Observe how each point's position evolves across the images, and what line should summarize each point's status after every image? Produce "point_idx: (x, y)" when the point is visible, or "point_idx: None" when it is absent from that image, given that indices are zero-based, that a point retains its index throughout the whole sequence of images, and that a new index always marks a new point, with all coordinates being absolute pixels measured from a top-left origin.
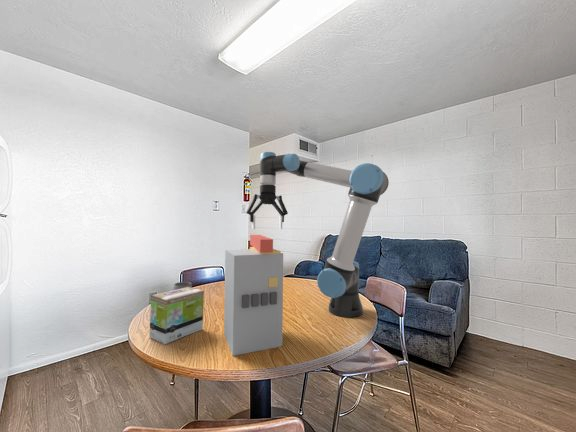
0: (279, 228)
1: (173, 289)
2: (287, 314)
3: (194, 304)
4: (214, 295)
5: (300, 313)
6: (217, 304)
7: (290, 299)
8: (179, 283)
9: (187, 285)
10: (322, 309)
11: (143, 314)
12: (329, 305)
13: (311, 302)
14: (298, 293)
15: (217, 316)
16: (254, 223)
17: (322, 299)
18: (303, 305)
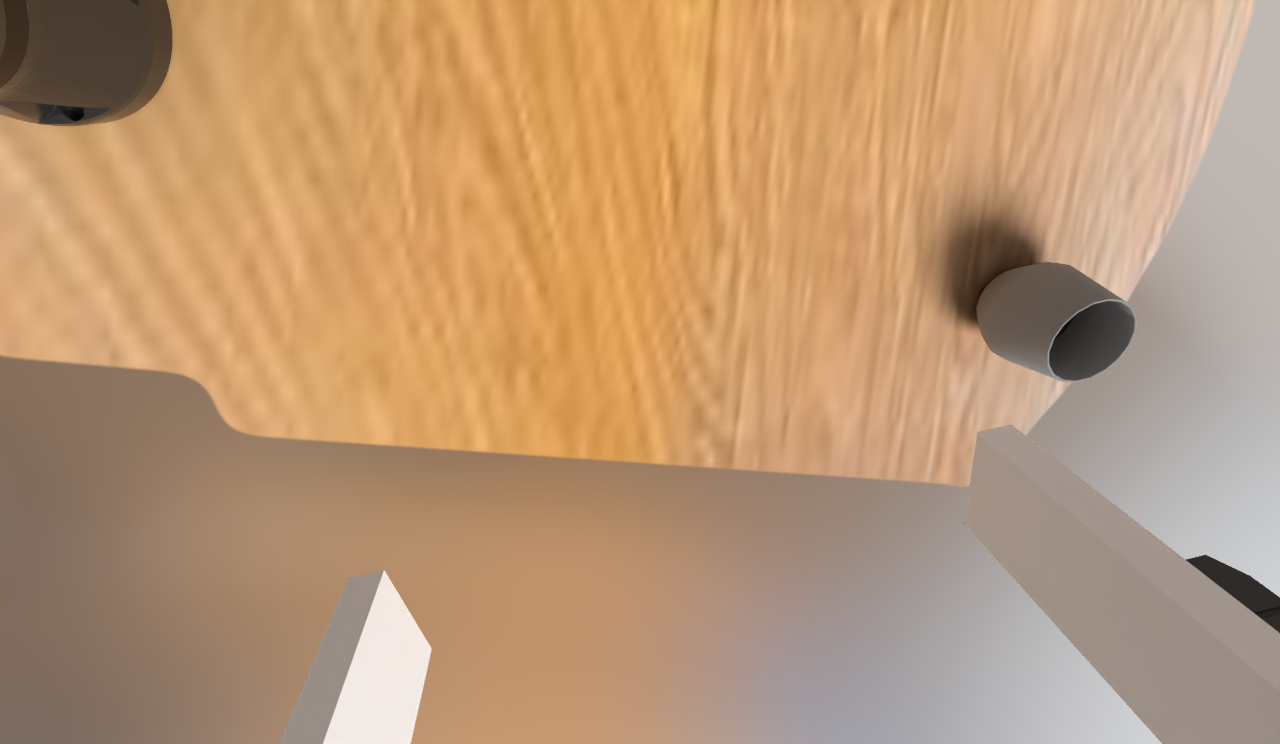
0: (413, 635)
1: (1117, 315)
2: (478, 21)
3: None
4: (843, 420)
5: (388, 22)
6: (849, 277)
7: (437, 309)
8: (1095, 369)
9: (1074, 310)
10: (222, 74)
11: (1181, 182)
12: (139, 8)
13: (298, 232)
14: (378, 414)
15: (878, 77)
16: (1100, 515)
17: (215, 282)
18: (358, 181)
